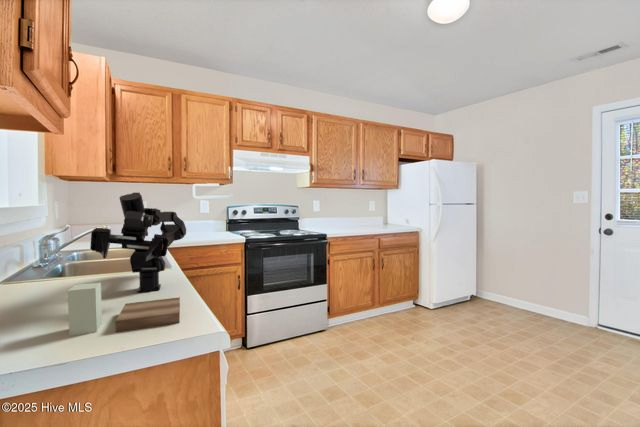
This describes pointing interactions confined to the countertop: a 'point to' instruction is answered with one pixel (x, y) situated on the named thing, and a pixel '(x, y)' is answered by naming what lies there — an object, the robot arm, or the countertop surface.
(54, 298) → the countertop surface
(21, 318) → the countertop surface
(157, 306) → the walnut stand
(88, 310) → the sage block
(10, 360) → the countertop surface
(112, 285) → the countertop surface
